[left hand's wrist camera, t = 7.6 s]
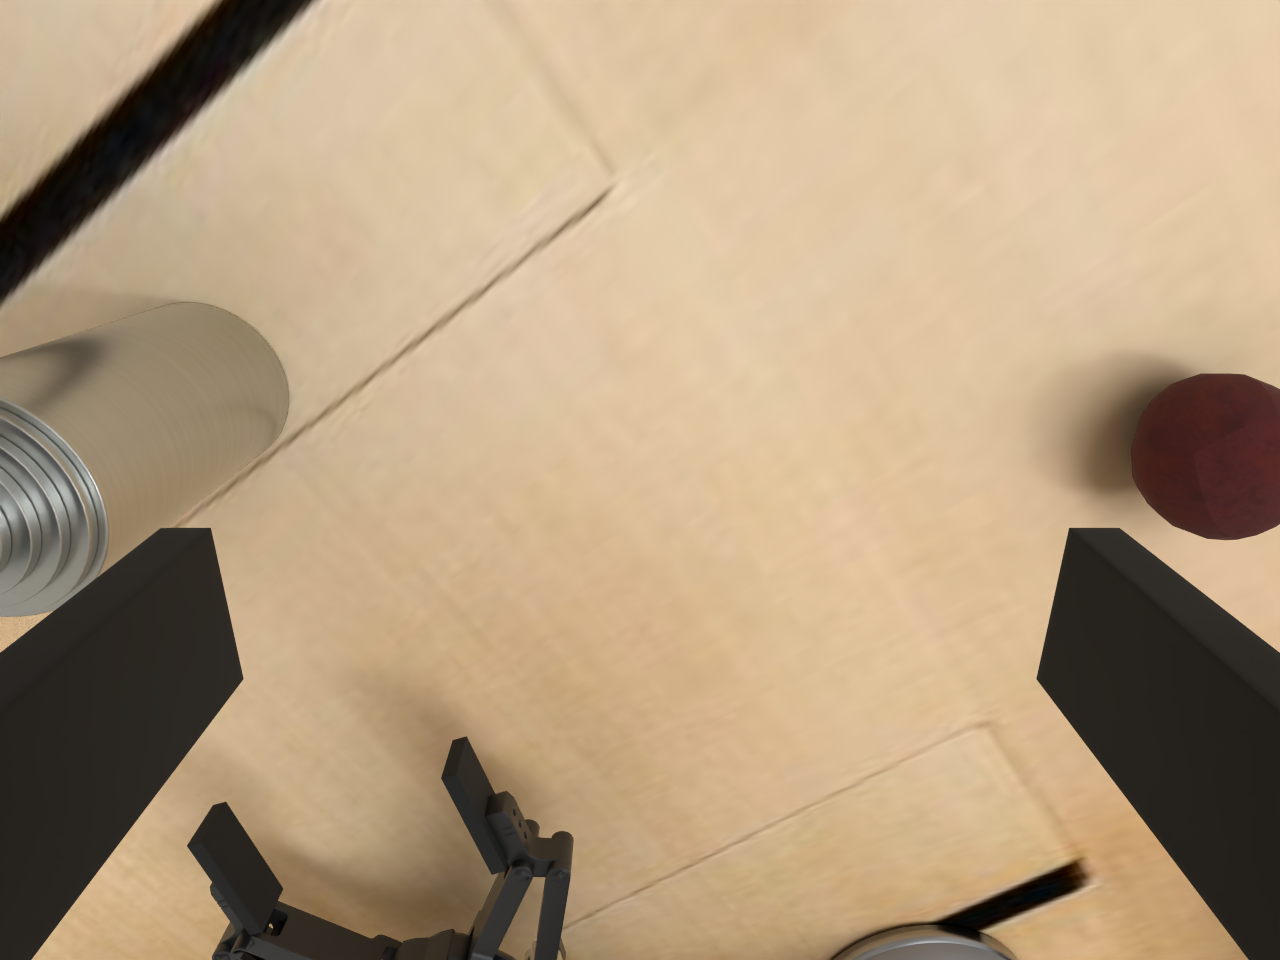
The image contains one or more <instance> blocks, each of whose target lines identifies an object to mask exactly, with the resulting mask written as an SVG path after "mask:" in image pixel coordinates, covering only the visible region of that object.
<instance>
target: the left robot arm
mask: <svg viewBox="0 0 1280 960" xmlns="http://www.w3.org/2000/svg"><path fill="white" fill-rule="evenodd" d="M242 680H243V675H242V670H241V665H240V661H239V656H238V651H237V647H236V642H235V638H234V633H233V628H232V624H231V619H230V615H229V610H228V605H227V601H226V596H225V591H224V587H223V582H222V578H221V573H220V568H219V564H218V559H217V555H216V550H215V545H214V541H213V536H212V531H211V528H160V529H159V530H157V531H156V532H155V533H154V534H152V535H151V536H150V537H148V538H147V539H146V540H145V541H143V542H142V543H141V544H139V545H138V546H137V547H136V548H134V549H133V550H132V551H130V552H129V553H128V554H127V555H125V556H124V557H123V558H121V559H120V560H119V561H118V562H116V563H115V564H114V565H113V566H111V567H110V568H109V569H107V570H106V571H105V572H104V573H102V574H101V575H100V576H98V577H97V578H96V579H95V580H93V581H92V582H91V583H89V584H88V585H87V586H86V587H84V588H83V589H82V590H80V591H79V592H78V593H77V594H75V595H74V596H73V597H71V598H70V599H69V600H68V601H66V602H65V603H64V604H62V605H61V606H60V607H59V608H57V609H56V610H55V611H53V612H52V613H51V614H50V615H48V616H47V617H46V618H44V619H43V620H42V621H41V622H39V623H38V624H37V625H35V626H34V627H33V628H32V629H30V630H29V631H28V632H26V633H25V634H24V635H23V636H21V637H20V638H19V639H18V640H16V641H15V642H14V643H12V644H11V645H10V646H9V647H7V648H6V649H5V650H3V651H2V652H1V653H0V960H31V959H32V958H33V957H34V955H35V954H36V953H37V951H38V950H39V949H40V947H41V946H42V945H43V943H44V942H45V941H46V939H47V938H48V937H49V935H50V934H51V933H52V932H53V930H54V929H55V928H56V926H57V925H58V924H59V922H60V921H61V920H62V918H63V917H64V916H65V914H66V913H67V912H68V910H69V909H70V908H71V906H72V905H73V904H74V902H75V901H76V900H77V898H78V897H79V896H80V895H81V893H82V892H83V891H84V889H85V888H86V887H87V885H88V884H89V883H90V881H91V880H92V879H93V877H94V876H95V875H96V873H97V872H98V871H99V869H100V868H101V867H102V865H103V864H104V863H105V861H106V860H107V859H108V857H109V856H110V855H111V854H112V852H113V851H114V850H115V848H116V847H117V846H118V844H119V843H120V842H121V840H122V839H123V838H124V836H125V835H126V834H127V832H128V831H129V830H130V828H131V827H132V826H133V824H134V823H135V822H136V820H137V819H138V818H139V816H140V815H141V814H142V813H143V811H144V810H145V809H146V807H147V806H148V805H149V803H150V802H151V801H152V799H153V798H154V797H155V795H156V794H157V793H158V791H159V790H160V789H161V787H162V786H163V785H164V783H165V782H166V781H167V779H168V778H169V777H170V775H171V774H172V773H173V772H174V770H175V769H176V768H177V766H178V765H179V764H180V762H181V761H182V760H183V758H184V757H185V756H186V754H187V753H188V752H189V750H190V749H191V748H192V746H193V745H194V744H195V742H196V741H197V740H198V738H199V737H200V736H201V734H202V733H203V732H204V731H205V729H206V728H207V727H208V725H209V724H210V723H211V721H212V720H213V719H214V717H215V716H216V715H217V713H218V712H219V711H220V709H221V708H222V707H223V705H224V704H225V703H226V701H227V700H228V699H229V697H230V696H231V695H232V693H233V692H234V691H235V690H236V688H237V687H238V686H239V684H240V683H241V682H242ZM1037 680H1038V682H1039V683H1040V684H1041V686H1042V687H1043V688H1044V690H1045V691H1046V692H1047V693H1048V695H1049V696H1050V697H1051V699H1052V700H1053V701H1054V703H1055V704H1056V705H1057V707H1058V708H1059V709H1060V711H1061V712H1062V713H1063V715H1064V716H1065V717H1066V719H1067V720H1068V721H1069V723H1070V724H1071V725H1072V727H1073V728H1074V729H1075V731H1076V732H1077V733H1078V734H1079V736H1080V737H1081V738H1082V740H1083V741H1084V742H1085V744H1086V745H1087V746H1088V748H1089V749H1090V750H1091V752H1092V753H1093V754H1094V756H1095V757H1096V758H1097V760H1098V761H1099V762H1100V764H1101V765H1102V766H1103V768H1104V769H1105V770H1106V772H1107V773H1108V774H1109V775H1110V777H1111V778H1112V779H1113V781H1114V782H1115V783H1116V785H1117V786H1118V787H1119V789H1120V790H1121V791H1122V793H1123V794H1124V795H1125V797H1126V798H1127V799H1128V801H1129V802H1130V803H1131V805H1132V806H1133V807H1134V809H1135V810H1136V811H1137V813H1138V814H1139V815H1140V816H1141V818H1142V819H1143V820H1144V822H1145V823H1146V824H1147V826H1148V827H1149V828H1150V830H1151V831H1152V832H1153V834H1154V835H1155V836H1156V838H1157V839H1158V840H1159V842H1160V843H1161V844H1162V846H1163V847H1164V848H1165V850H1166V851H1167V852H1168V854H1169V855H1170V856H1171V857H1172V859H1173V860H1174V861H1175V863H1176V864H1177V865H1178V867H1179V868H1180V869H1181V871H1182V872H1183V873H1184V875H1185V876H1186V877H1187V879H1188V880H1189V881H1190V883H1191V884H1192V885H1193V887H1194V888H1195V889H1196V891H1197V892H1198V893H1199V895H1200V896H1201V897H1202V898H1203V900H1204V901H1205V902H1206V904H1207V905H1208V906H1209V908H1210V909H1211V910H1212V912H1213V913H1214V914H1215V916H1216V917H1217V918H1218V920H1219V921H1220V922H1221V924H1222V925H1223V926H1224V928H1225V929H1226V930H1227V932H1228V933H1229V934H1230V936H1231V937H1232V938H1233V939H1234V941H1235V942H1236V943H1237V945H1238V946H1239V947H1240V949H1241V950H1242V951H1243V953H1244V954H1245V955H1246V957H1247V958H1248V959H1249V960H1280V653H1279V652H1278V651H1277V650H1275V649H1274V648H1273V647H1271V646H1270V645H1269V644H1268V643H1266V642H1265V641H1264V640H1262V639H1261V638H1260V637H1259V636H1257V635H1256V634H1255V633H1254V632H1252V631H1251V630H1250V629H1248V628H1247V627H1246V626H1245V625H1243V624H1242V623H1241V622H1239V621H1238V620H1237V619H1236V618H1234V617H1233V616H1232V615H1230V614H1229V613H1228V612H1227V611H1225V610H1224V609H1223V608H1221V607H1220V606H1219V605H1218V604H1216V603H1215V602H1214V601H1212V600H1211V599H1210V598H1209V597H1207V596H1206V595H1205V594H1203V593H1202V592H1201V591H1200V590H1198V589H1197V588H1196V587H1194V586H1193V585H1192V584H1191V583H1189V582H1188V581H1187V580H1185V579H1184V578H1183V577H1182V576H1180V575H1179V574H1178V573H1176V572H1175V571H1174V570H1173V569H1171V568H1170V567H1169V566H1167V565H1166V564H1165V563H1164V562H1162V561H1161V560H1160V559H1159V558H1157V557H1156V556H1155V555H1153V554H1152V553H1151V552H1150V551H1148V550H1147V549H1146V548H1144V547H1143V546H1142V545H1141V544H1139V543H1138V542H1137V541H1135V540H1134V539H1133V538H1132V537H1130V536H1129V535H1128V534H1126V533H1125V532H1124V531H1123V530H1121V529H1120V528H1069V531H1068V536H1067V541H1066V545H1065V550H1064V555H1063V559H1062V564H1061V568H1060V573H1059V578H1058V582H1057V587H1056V591H1055V596H1054V601H1053V605H1052V610H1051V615H1050V619H1049V624H1048V628H1047V633H1046V638H1045V642H1044V647H1043V651H1042V656H1041V661H1040V665H1039V670H1038V675H1037Z"/></svg>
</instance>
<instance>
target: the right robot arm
mask: <svg viewBox="0 0 1280 960" xmlns="http://www.w3.org/2000/svg"><path fill="white" fill-rule="evenodd" d="M441 779H442V781H443V783H444V784H445V786H446V788H447V790H448V792H449V794H450V796H451V798H452V800H453V802H454V804H455V805H456V807H457V809H458V811H459V813H460V815H461V817H462V819H463V821H464V823H465V825H466V826H467V828H468V830H469V832H470V834H471V836H472V838H473V840H474V842H475V844H476V845H477V847H478V849H479V851H480V853H481V855H482V857H483V859H484V861H485V863H486V865H487V866H488V868H489V870H490V872H491V874H496V873H499V874H498V876H497V878H496V880H495V882H494V884H493V886H492V889H491V891H490V893H489V895H488V897H487V899H486V901H485V904H484V906H483V908H482V910H481V911H479V912H478V914H477V916H476V919H475V921H474V923H473V925H472V927H471V929H470V931H469V934H468V935H467V934H463V933H456V932H455V931H454V929H451V930H447V931H443V932H440V933H438V934H436V935H434V936H432V937H430V938H414V939H410V940H406V941H403V943H402V942H399V941H397V940H394V939H392V938H389V937H387V936H385V935H378V936H376V937H375V938H372V939H371V938H368V937H365V936H363V935H360V934H358V933H355V932H353V931H351V930H348V929H346V928H343V927H341V926H338V925H336V924H333V923H331V922H328V921H326V920H324V919H321V918H319V917H316V916H314V915H311V914H309V913H306V912H304V911H301V910H299V909H296V908H294V907H292V906H289V905H287V904H284V903H282V902H279V901H278V899H279V896H280V894H281V892H282V890H283V888H282V886H281V885H280V883H279V881H278V880H277V878H276V877H275V875H274V874H273V872H272V871H271V869H270V868H269V866H268V865H267V863H266V862H265V860H264V859H263V857H262V856H261V854H260V853H259V851H258V850H257V848H256V847H255V845H254V844H253V842H252V841H251V839H250V838H249V836H248V835H247V833H246V832H245V830H244V828H243V827H242V825H241V824H240V822H239V821H238V819H237V818H236V816H235V815H234V813H233V812H232V810H231V809H230V807H229V806H228V804H227V803H226V802H223V803H220V804H216V805H213V806H212V808H211V809H210V811H209V812H208V814H207V816H206V817H205V819H204V820H203V822H202V823H201V825H200V826H199V828H198V829H197V831H196V833H195V834H194V836H193V837H192V839H191V840H190V842H189V843H188V845H187V847H188V848H189V850H190V851H191V852H192V854H193V855H194V857H195V858H196V860H197V861H198V862H199V864H200V865H201V867H202V868H203V869H204V871H205V872H206V874H207V875H208V877H209V878H210V879H211V881H212V884H211V886H210V890H211V895H212V896H213V898H214V899H215V901H216V902H217V903H218V905H219V906H220V907H221V909H222V910H223V912H224V913H225V915H226V916H227V917H228V919H229V920H230V923H229V925H228V927H227V929H226V931H225V933H224V935H223V936H222V938H221V940H220V942H219V944H218V946H217V948H216V950H215V952H214V954H213V956H212V960H381V959H382V960H516V959H515V958H513V957H512V956H510V955H508V954H506V953H504V952H502V951H500V950H498V948H499V946H500V944H501V942H502V940H503V938H504V936H505V934H506V932H507V930H508V927H509V925H510V923H511V921H512V919H513V917H514V915H515V913H516V911H517V909H518V907H519V905H520V903H521V901H522V899H523V897H524V895H525V893H526V891H527V889H528V887H529V885H530V882H531V880H532V878H533V877H545V884H544V891H543V898H542V905H541V911H540V918H539V925H538V933H537V941H534V942H533V944H532V949H530V950H528V951H527V952H526V956H525V960H565V958H566V952H565V949H564V946H563V943H562V940H561V932H562V926H563V920H564V913H565V907H566V901H567V895H568V889H569V883H570V875H571V864H572V852H573V837H572V835H571V834H570V833H568V832H565V831H559V832H556V833H555V834H554V835H553V836H552V838H540V837H538V835H539V825H538V824H537V822H535V821H533V820H529V819H527V820H525V819H524V817H523V815H522V813H521V812H520V809H519V807H518V806H517V803H516V801H515V799H514V797H513V796H512V795H510V794H509V793H508V792H507V791H505V792H501V793H497V794H495V793H494V791H493V789H492V787H491V785H490V783H489V781H488V779H487V777H486V775H485V773H484V770H483V768H482V766H481V764H480V762H479V760H478V758H477V756H476V754H475V752H474V750H473V748H472V746H471V744H470V742H469V740H468V738H467V737H463V738H459V739H456V740H453V741H452V745H451V748H450V751H449V755H448V758H447V761H446V764H445V768H444V771H443V774H442V777H441ZM270 923H271V924H272V926H273V929H272V928H271V927H269V924H270ZM834 960H1018V959H1017V957H1016V956H1015V955H1014V954H1013V953H1012V952H1011V951H1010V950H1009V949H1008V948H1006V947H1005V946H1004V945H1003V944H1001V943H1000V942H998V941H996V940H995V939H993V938H991V937H989V936H987V935H984V934H982V933H979V932H976V931H973V930H970V929H965V928H961V927H955V926H947V925H918V926H910V927H903V928H898V929H894V930H890V931H886V932H883V933H880V934H877V935H874V936H872V937H869V938H867V939H865V940H863V941H860V942H859V943H857V944H855V945H853V946H851V947H850V948H848V949H847V950H845V951H844V952H842V953H841V954H840V955H838V956H837V957H836V958H835V959H834Z"/></svg>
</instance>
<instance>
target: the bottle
mask: <svg viewBox="0 0 1280 960" xmlns="http://www.w3.org/2000/svg"><path fill="white" fill-rule="evenodd" d="M288 406H289V392H288V385H287V380H286V377H285V374H284V370H283V368H282V366H281V364H280V361H279V359H278V358H277V356H276V354H275V352H274V351H273V349H272V348H271V347H270V345H269V344H268V343H267V341H266V340H265V339H264V338H263V337H262V336H261V335H260V334H259V333H258V332H257V331H256V330H255V329H254V328H252V327H251V326H250V325H249V324H247V323H246V322H245V321H243V320H242V319H240V318H239V317H237V316H235V315H233V314H231V313H229V312H227V311H225V310H222V309H220V308H217V307H214V306H210V305H206V304H200V303H174V304H169V305H165V306H162V307H158V308H155V309H152V310H149V311H146V312H143V313H140V314H136V315H133V316H130V317H127V318H124V319H121V320H117V321H114V322H111V323H108V324H105V325H102V326H99V327H95V328H92V329H89V330H86V331H83V332H80V333H77V334H73V335H70V336H67V337H64V338H61V339H58V340H55V341H51V342H48V343H45V344H42V345H39V346H36V347H32V348H29V349H26V350H23V351H20V352H17V353H14V354H10V355H7V356H4V357H1V358H0V617H10V616H30V615H37V614H42V613H46V612H50V611H53V610H56V609H57V608H59V607H60V606H61V605H62V604H64V603H65V602H66V601H68V600H69V599H70V598H71V597H73V596H74V595H75V594H77V593H78V592H79V591H80V590H82V589H83V588H84V587H86V586H87V585H88V584H89V583H91V582H92V581H93V580H95V579H96V578H97V577H98V576H100V575H101V574H102V573H104V572H105V571H106V570H107V569H109V568H110V567H111V566H113V565H114V564H115V563H116V562H118V561H119V560H120V559H121V558H123V557H124V556H125V555H127V554H128V553H129V552H130V551H132V550H133V549H134V548H136V547H137V546H138V545H139V544H141V543H142V542H143V541H145V540H146V539H147V538H148V537H150V536H151V535H152V534H154V533H155V532H156V531H157V530H159V529H160V528H167V527H168V526H170V525H171V524H172V523H173V522H175V521H176V520H177V519H179V518H180V517H181V516H182V515H184V514H185V513H186V512H187V511H189V510H190V509H191V508H192V507H194V506H195V505H196V504H198V503H199V502H200V501H201V500H203V499H204V498H205V497H206V496H208V495H209V494H210V493H212V492H213V491H214V490H215V489H217V488H218V487H219V486H220V485H222V484H223V483H224V482H225V481H227V480H228V479H229V478H231V477H232V476H233V475H234V474H236V473H237V472H238V471H239V470H241V469H242V468H243V467H244V466H246V465H247V464H248V463H250V462H251V461H252V460H253V459H255V458H256V457H257V456H258V455H260V454H261V453H262V452H263V451H265V450H266V449H267V448H268V447H270V445H271V444H272V443H273V442H274V441H275V440H276V439H277V437H278V435H279V434H280V432H281V431H282V428H283V426H284V424H285V421H286V417H287V414H288Z"/></svg>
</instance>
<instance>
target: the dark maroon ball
mask: <svg viewBox="0 0 1280 960" xmlns="http://www.w3.org/2000/svg"><path fill="white" fill-rule="evenodd" d="M1131 458H1132V473H1133V479H1134V481H1135V483H1136V485H1137V487H1138V489H1139V490H1140V492H1141V494H1142V495H1143V497H1144V498H1145V500H1146V501H1147V503H1148V504H1149V505H1150V506H1151V507H1152V508H1153V509H1154V510H1155V511H1156V512H1157V513H1158V514H1159V515H1161V516H1162V517H1163V518H1164V519H1165V520H1167V521H1168V522H1169V523H1170V524H1171V525H1172V526H1175V527H1177V528H1180V529H1183V530H1185V531H1188V532H1191V533H1193V534H1196V535H1199V536H1201V537H1204V538H1207V539H1218V540H1237V539H1241V538H1246V537H1250V536H1255V535H1258V534H1260V533H1263V532H1265V531H1267V530H1270V529H1272V528H1274V527H1276V526H1278V525H1279V524H1280V389H1278V388H1276V387H1274V386H1272V385H1269V384H1267V383H1264V382H1262V381H1259V380H1257V379H1254V378H1252V377H1249V376H1247V375H1242V374H1199V375H1196V376H1193V377H1190V378H1187V379H1185V380H1182V381H1179V382H1176V383H1174V384H1172V385H1170V386H1169V387H1167V388H1166V389H1165V390H1164V391H1162V392H1161V393H1160V394H1159V395H1157V396H1156V397H1155V398H1154V399H1153V400H1152V401H1151V403H1150V404H1149V406H1148V407H1147V409H1146V410H1145V412H1144V413H1143V415H1142V416H1141V418H1140V421H1139V425H1138V428H1137V431H1136V435H1135V438H1134V441H1133V445H1132V449H1131Z"/></svg>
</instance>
